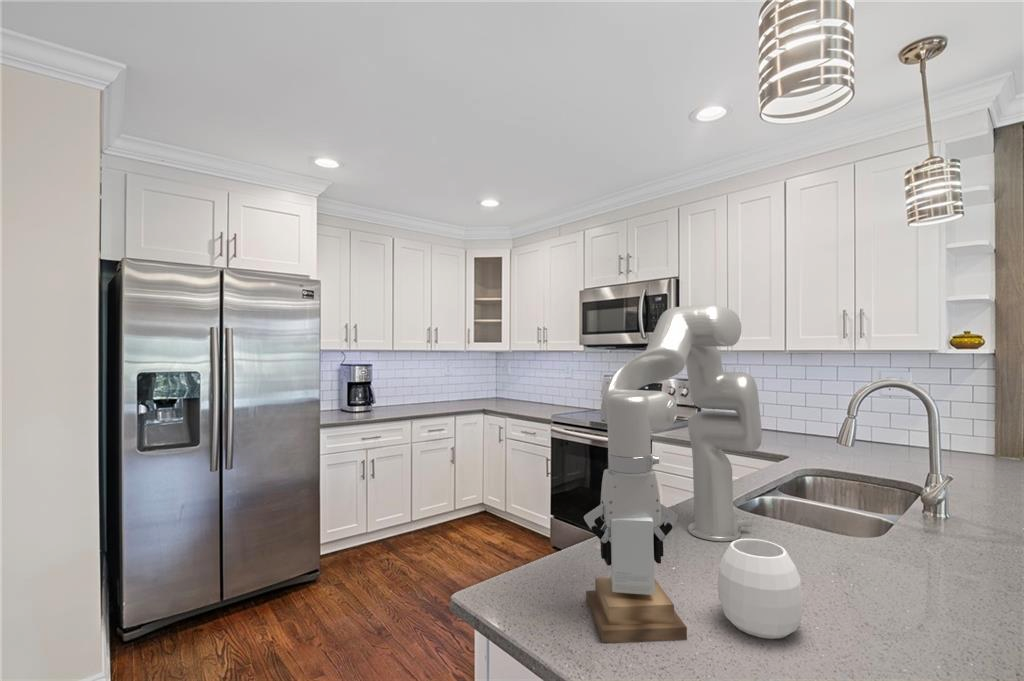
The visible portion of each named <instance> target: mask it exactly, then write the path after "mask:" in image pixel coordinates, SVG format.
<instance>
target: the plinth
mask: <svg viewBox="0 0 1024 681" xmlns="http://www.w3.org/2000/svg"><path fill="white" fill-rule="evenodd" d="M594 581H595V582H594V584H595V586H594V588H595V589H592V590H591V589H590V590H585V599H586V604H587V606H588V608H589V612H590V614H591V617H592V620H593V622H594V624H595V627H596V630H597V632H598V634H599V637H600V640H601V643H602V644H613V643H614V644H615V643H635V642H636V643H637V642H638V643H639V642H658V641H659V642H661V641H680V640H682V641H684V640H688V633H687V630H688V629H687V626H686V624H685V623H684V621H683V620H682V619H681V617H680V616H679V615H678V613H677V612H676V611H675V604H674V603H673V601H671V599H670V597H669V596H668V594H667V593H666V592H665V590H664V589H663V588H662V586H661V585H660V584H659V583H658V581H657V580H656V579H655V594H654V595H644V594H630V593H618V592H612V580H611V576H610V577H609V576H607V577H595V578H594Z"/></svg>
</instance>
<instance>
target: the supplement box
mask: <svg viewBox="0 0 1024 681" xmlns="http://www.w3.org/2000/svg"><path fill="white" fill-rule="evenodd" d="M653 533H654V532H653V519H652V518H649V517H645V518H617V519H611V537H610V543H611V565H610V574H611V575H610V577H611V580H612V592H618V593H630V594H644V595H654V594H655V580H656V578H655V560H654V543H653Z"/></svg>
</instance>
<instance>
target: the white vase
mask: <svg viewBox="0 0 1024 681" xmlns="http://www.w3.org/2000/svg"><path fill="white" fill-rule="evenodd" d="M717 575H718V576H717V593H718V594H717V595H718V596H717V597H718V600H719V603H720V605H721V608H722V611H723V613H724V615H725V616H724V617H726V619H728V621H730V623H731V624H732V625H733V626H735V627H736V628H737V629H738V630H740V631H741V632H744V633H746V634H747V635H751V636H755V637H757V638H762V639H771V640H774V639H776V640H777V639H783V638H785V637H786V636H789V635H790V634H792V633H793V632H796V631H797V630H798V628H799V626H800V623H801V621H802V617H803V613H804V594H803V585H802V579H801V577H800V575H799V572H798V569H797V567H796V564H795V563H794V562H793V560H792V558H791V556H790V555H789V553H788V552H787V550H786V549H785V548H784V547H783V546H781V545H779V544H777V543H774V542H771V541H769V540H764V539H760V538H759V539H758V538H738V539H736V540H733V541H731V543H730V544H729V546H728V547H727V550H726V551H725V552H724V554H723V556H722V558H721V561H720V564H719V566H718V574H717Z"/></svg>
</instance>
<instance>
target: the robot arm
mask: <svg viewBox="0 0 1024 681" xmlns="http://www.w3.org/2000/svg"><path fill="white" fill-rule="evenodd" d="M741 335H742V322H741V319H740V316H738V314H737V313H736V312H735V310H733V309H729V308H727V307H725V306H721V305H716V304H702V305H687V306H685V305H684V306H674V307H671V308H668V309H666V310H665V311H663V312H662V314H660V317H659V318H658V321H657V322H656V326H655V328H654V330H653V332H652V335H651V338H650V340H649V341H648V343H647V347H646V349H645V350H644V351H642V352H640V353H638V354H637V355H635V356H634V357H633V358H631V359H630V360H628V361H627V362H625V363H624V364H622V365H621V366H620V367H619V368H618V369H617V370H616V371H615V372H614V373H613V375H612V376H611V378H610V380H609V382H608V384H607V386H606V388H605V391H604V393H603V397H602V399H601V404H600V413H601V417H602V419H603V421H604V422H605V424H606V425H607V448H608V449H607V451H608V452H607V463H608V464H607V466H608V467H607V468H606V469H604V470H603V475H602V481H601V491H600V504H599V505H598V506H596V507H595V508H593V509H592V510H590V511H588V512H587V513H586V514H585V515H584V516H583V519H584V520H583V521H585V523H586V524H587V527H589V529H590V530H591V532H592V533H593V534H594V536H596V537H597V538H598V539H599V541H600V558H601V559H602V560H604V562H605V564H606V566H610V567H611V540H610V539H611V519H617V518H645V517H649V518H652V519H653V543H654V562H655V563H656V564H662V557H664V541H665V540H666V539H667V538H666V537H667V535H669V533H671V531H672V530H673V528H674V525H675V524H676V522H677V520H678V519H679V515H678V514H677V512H675V511H673V510H672V509H670V508H668V507H667V506H666V505H664V504H662V503H661V498H660V497H661V496H660V490H659V485H658V479H657V476H656V471H655V470H653V466H654V465H658V464H659V463H660V458H659V456H657V455H655V456H654V455H653V454H652V447H651V445H652V442H651V438H652V436H651V432H661V431H666V430H668V429H669V428H671V427H672V426H673V425H674V424H675V422H676V420H677V417H678V404H677V402H676V400H675V398H674V397H673V396H672V395H671V394H669V393H668V392H665V391H661V390H643V389H641V388H643V387H645V386H647V385H650V384H654V383H658V382H660V381H664V380H667V379H669V378H671V377H674V376H677V375H678V374H679V373H681V372H682V371H683V370H684V368H685V365H686V374H687V382H688V390H689V396H690V399H691V400H690V401H691V402H692V404H693V405H694V406H695V407H697V408H700V409H706V410H702V411H697V412H695V413H693V414H692V415H691V416H690V418H689V420H688V422H687V430H688V435H689V440H690V446H691V455H692V477H693V479H692V481H693V482H692V483H693V512H694V513H693V514H694V516H693V518H694V521H692V522H691V523H690V524H688V527H687V529H688V532H689V533H690V534H691V535H693V536H694V537H695V538H696V537H697V538H700V539H703V540H706V541H707V540H708V541H714V542H733V541H735V540H738V539H740V537H741V530H740V529H741V527H745V528H747V527H748V528H749V527H753V526H754V525H753V524H754V523H753V520H752V519H751V518H743V517H742V516H735V515H734V494H733V493H734V488H733V467H732V463H731V461H730V459H729V458H728V457H727V455H726V454H725V452H724V450H728V451H737V452H738V451H741V452H754V451H756V450H758V449H759V448H760V447H761V444H762V440H763V432H762V431H763V430H762V421H761V419H762V418H761V410H760V401H759V391H758V384H757V383H756V380H755V378H754V377H753V376H752V375H751V374H749V373H747V372H741V371H740V372H739V371H725V370H724V369H723V363H722V354H721V352H720V350H719V348H718V347H722V348H723V347H732V346H735V345H736V344H737V343H738V342H739V340H740V338H741ZM707 409H708V410H707ZM715 410H716V411H715ZM717 410H718V411H717ZM719 410H721V411H719ZM722 410H723V411H722ZM727 411H728V412H727ZM731 411H734V412H731ZM662 514H663V515H665V516H666V518H665V520H664V521H663V522H662ZM599 517H600V519H601V521H603V522H604V523H603V525H602V526H601V527H599V526H598V525H597V524H596V523H595V521H596V519H598V518H599Z"/></svg>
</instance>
